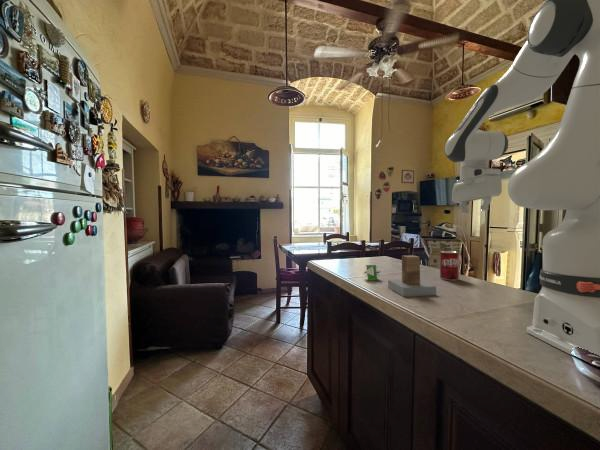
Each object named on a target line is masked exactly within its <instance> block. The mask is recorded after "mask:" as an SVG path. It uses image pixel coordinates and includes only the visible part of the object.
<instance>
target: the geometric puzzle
mask: <svg viewBox="0 0 600 450" xmlns="http://www.w3.org/2000/svg"><path fill="white" fill-rule="evenodd" d="M365 267H366V269H364V273H362V274H364V276H365V277H366V280H367V281H378V280H379V277H378V276H379V275H380V273H381V270H380V271H379V270H378V266H377V265H376V264H366V265H365Z"/></svg>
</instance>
